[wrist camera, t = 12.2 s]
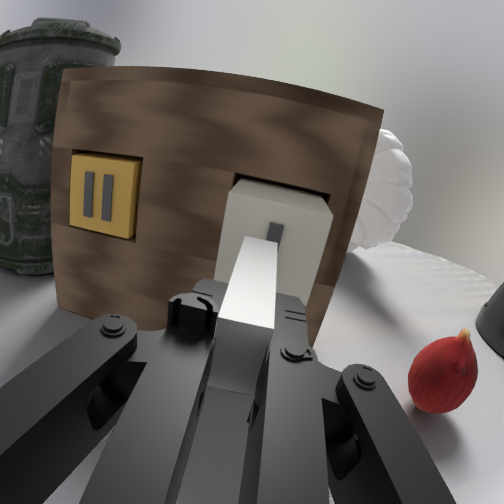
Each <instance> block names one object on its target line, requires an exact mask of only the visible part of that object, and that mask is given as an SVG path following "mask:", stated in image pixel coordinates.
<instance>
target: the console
mask: <svg viewBox="0 0 504 504" xmlns="http://www.w3.org/2000/svg"><path fill="white" fill-rule="evenodd" d="M383 113H384V110H383V109H380V108H377V107H373V106H371V105H368V104H364V103H361V102H358V101H355V100H351V99H348V98H345V97H341V96H337V95H334V94H330V93H326V92H322V91H319V90H315V89H310V88H306V87H302V86H298V85H293V84H288V83H283V82H279V81H274V80H267V79H263V78H257V77H251V76H244V75H238V74H231V73H224V72H215V71H207V70H196V69H184V68H170V67H148V66H147V67H146V66H145V67H144V66H104V67H83V68H69V69H63V74H62V79H61V85H60V91H59V97H58V104H57V111H56V118H55V127H54V137H53V149H52V164H51V198H50V205H51V239H52V255H53V267H54V277H55V286H56V294H57V301H58V307H61V308H63V309H66V310H69V311H71V312H74V313H77V314H79V315H82V316H85V317H88V318H90V319H93V320H94V319H96V318H98V317H100V316H102V315H106V314H121V315H124V316H127V317H129V318H130V319H132V320H133V321H134V322H135V324H136V326H137V330H142V331H159V330H164V329H166V327H167V317H168V302H169V300H170V299H171V298H172V297H173V296H176V295H179V294H184V293H191V292H192V290H193V289H194V287H195V285H196V283H198V282H199V281H201V280H203V279H204V278H207V279H211V280H214V274H215V268H216V262H217V256H218V250H219V244H220V238H221V232H222V227H223V221H224V215H225V210H226V204H227V199H228V193H229V191H230V190H231V189H232V188H233V187H234V186H235V185H236V183H237V182H238V181H239V180H240V179H241V178H245V179H250V180H254V181H259V182H264V183H269V184H273V185H278V186H282V187H287V188H291V189H295V190H300V191H304V192H308V193H312V194H316V195H320V196H322V198H323V199H324V201H325V203H326V204H327V206H328V208H329V209H330V211H331V213H332V214H333V220H332V223H331V227H330V230H329V234H328V237H327V241H326V244H325V248H324V251H323V254H322V258H321V261H320V264H319V268H318V271H317V274H316V277H315V280H314V284H313V287H312V290H311V293H310V296H309V299H308V302H307V305H306V306H305V313H306V314H305V315H306V323H307V332H308V342H309V346H310V347H311V348H312V347H313V345H314V342H315V340H316V337H317V335H318V332H319V329H320V327H321V324H322V321H323V319H324V316H325V313H326V311H327V308H328V305H329V302H330V299H331V297H332V294H333V291H334V288H335V285H336V282H337V279H338V276H339V274H340V271H341V268H342V265H343V261H344V258H345V255H346V252H347V249H348V246H349V243H350V239H351V236H352V233H353V230H354V226H355V223H356V220H357V216H358V213H359V209H360V206H361V202H362V199H363V195H364V191H365V188H366V184H367V180H368V177H369V173H370V169H371V165H372V161H373V157H374V153H375V149H376V144H377V140H378V136H379V131H380V127H381V122H382V118H383ZM92 151H99V152H107V153H116V154H123V155H131V156H138V157H143V165H142V173H141V182H140V192H139V203H138V215H137V229H136V233H135V234H134V235H132V236H131V237H130V238H128V239H127V238H123V237H119V236H115V235H110V234H106V233H102V232H98V231H94V230H89V229H85V228H81V227H77V226H73V225H70V181H71V163H72V155H76V154H81V153H86V152H92Z"/></svg>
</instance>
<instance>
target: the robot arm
mask: <svg viewBox="0 0 504 504" xmlns="http://www.w3.org/2000/svg"><path fill="white" fill-rule="evenodd" d="M277 246H278V243H276V242H271V241H267V240H262V239H257V238H253V237H248V236H245V237H244V240H243V243H242V246H241V249H240V252H239V255H238V258H237V261H236V264H235V267H234V270H233V273H232V276H231V279H230V282H229V283H225V282H220V281H216V280H211V279H207V278H204V279H203V280H201V281H199V282H198V283H196V285H195V287H194V289H193V290H192V292H191V293H184V294H179V295H176V296H173V297H172V298H171V299H170V300H169V302H168V317H167V327H166V329H164V330H159V331H142V330H137V326H136V324H135V322H134V321H133V320H132V319H130V318H129V317H127V316H124V315H121V314H106V315H102V316H100V317H98V318H96V319H94V320H93V321H91V322H90V323H89V324H87V325H86V326H84V327H83V328H81V329H80V330H79V331H77V332H76V333H74V334H73V335H72V336H70V337H69V338H67V339H66V340H65V341H63V342H62V343H60V344H59V345H58V346H56V347H55V348H54V349H52V350H51V351H49V352H48V353H47V354H45V355H44V356H43V357H41V358H40V359H38V360H37V361H36V362H34V363H33V364H32V365H30V366H29V367H28V368H26V369H25V370H24V371H22V372H21V373H20V374H18V375H17V376H16V377H14V378H13V379H12V380H10V381H9V382H8V383H6V384H5V385H4V386H2V387H1V388H0V504H43V503H44V501H45V500H46V499H47V498H48V497H49V496H50V495H51V494H52V493H53V492H54V491H55V490H56V489H57V488H58V487H59V485H60V484H61V483H62V482H63V481H64V480H65V479H66V478H67V477H68V476H69V475H70V474H71V473H72V471H73V470H74V469H75V468H76V467H77V466H78V465H79V464H80V463H81V462H82V461H83V460H84V458H85V457H86V456H87V455H88V454H89V453H90V452H91V451H92V450H93V449H94V448H95V446H96V445H97V444H98V443H99V442H100V441H101V440H102V439H103V438H104V437H105V436H106V434H107V433H108V432H109V431H110V430H111V429H112V428H113V427H114V426H115V425H116V426H115V428H114V430H113V432H112V434H111V436H110V438H109V440H108V442H107V444H106V446H105V448H104V450H103V452H102V455H101V457H100V459H99V461H98V463H97V465H96V467H95V469H94V472H93V474H92V476H91V478H90V480H89V482H88V485H87V487H86V489H85V491H84V493H83V496H82V498H81V500H80V502H79V504H176V500H177V497H178V493H179V489H180V486H181V482H182V478H183V474H184V471H185V467H186V463H187V460H188V456H189V452H190V448H191V445H192V441H193V437H194V434H195V430H196V426H197V423H198V419H199V415H200V412H201V408H202V405H203V401H204V396H205V390H206V385H207V386H211V387H215V388H219V389H224V390H229V391H233V392H238V393H243V394H248V395H254V393H255V398H254V401H253V404H252V408H251V411H250V414H249V417H248V420H247V422H249V430H248V438H247V445H246V453H245V460H244V467H243V475H242V482H241V489H240V496H239V503H238V504H329V489H330V491H331V494H332V497H333V500H334V503H335V504H456V502H455V500H454V498H453V496H452V494H451V493H450V491H449V489H448V487H447V485H446V483H445V482H444V480H443V478H442V476H441V474H440V473H439V471H438V469H437V467H436V465H435V464H434V462H433V460H432V458H431V456H430V455H429V453H428V451H427V449H426V448H425V446H424V444H423V443H422V441H421V439H420V437H419V436H418V434H417V432H416V431H415V429H414V427H413V425H412V424H411V422H410V420H409V419H408V417H407V415H406V414H405V412H404V410H403V409H402V407H401V405H400V404H399V402H398V400H397V399H396V397H395V395H394V394H393V392H392V390H391V389H390V387H389V386H388V384H387V382H386V381H385V379H384V378H383V376H382V375H381V374H380V373H379V372H378V371H376V370H375V369H373V368H372V367H369V366H366V365H363V364H353V365H349V366H347V367H346V368H345V369H344V370H343V372H339V371H337V370H334V369H331V368H329V367H327V366H325V365H323V364H321V363H320V362H318V361H317V356H316V353H315V351H314V350H313V349H312V348H311V347H310V346H309V342H308V332H307V323H306V315H305V314H306V313H305V305H304V304H303V303H302V301H301V300H300V299H299V297H295V296H290V295H286V294H281V293H276V273H277ZM476 326H477V329H478V331H479V332H480V334H481V335H482V337H483V338H484V339H485V340H486V342H487V343H488V344H489V345H490V346H491V347H492V348H493V349H494V350H496V351H497V352H498V353H499V354H500V355H502V356H503V357H504V283H503V284H502V285H501V286H500V287H499V288H498V290H497V291H496V292H495V293H494V294H493V296H492V297H491V298H490V300H489V301H488V302H486V303H485V304H484V305H483V307H482V308H481V310H480V312H479V314H478V316H477V318H476ZM255 390H256V391H255ZM328 486H329V489H328Z"/></svg>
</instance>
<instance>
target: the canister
mask: <svg viewBox="0 0 504 504" xmlns="http://www.w3.org/2000/svg"><path fill="white" fill-rule="evenodd" d="M120 50H121V43H120V40H119V39H117V38H116V37H115V38H113V37H112V36H110V35H109V34H107V33H105V32H103V31H100V30H96V29H93V28H91V26H90V23H89V22H87V21H82V20H73V19H61V18H37V19H36V20H34V22H33V23H32V25H31V26H30V27H25V28H21V29H18V30H15V31H12V32H10V30H8V31H6V32H5V33H3V34H2V35H0V265H1V266H3V267H7V268H10V269H14V270H16V271H17V273H18V274H24V275H39V274H47V273H53V272H54V267H53V255H52V239H51V205H50V198H51V164H52V149H53V137H54V127H55V118H56V111H57V104H58V97H59V91H60V85H61V79H62V74H63V69H69V68H83V67H104V66H114V63H115V57H114V56H116V55H118V54H119V52H120Z"/></svg>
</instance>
